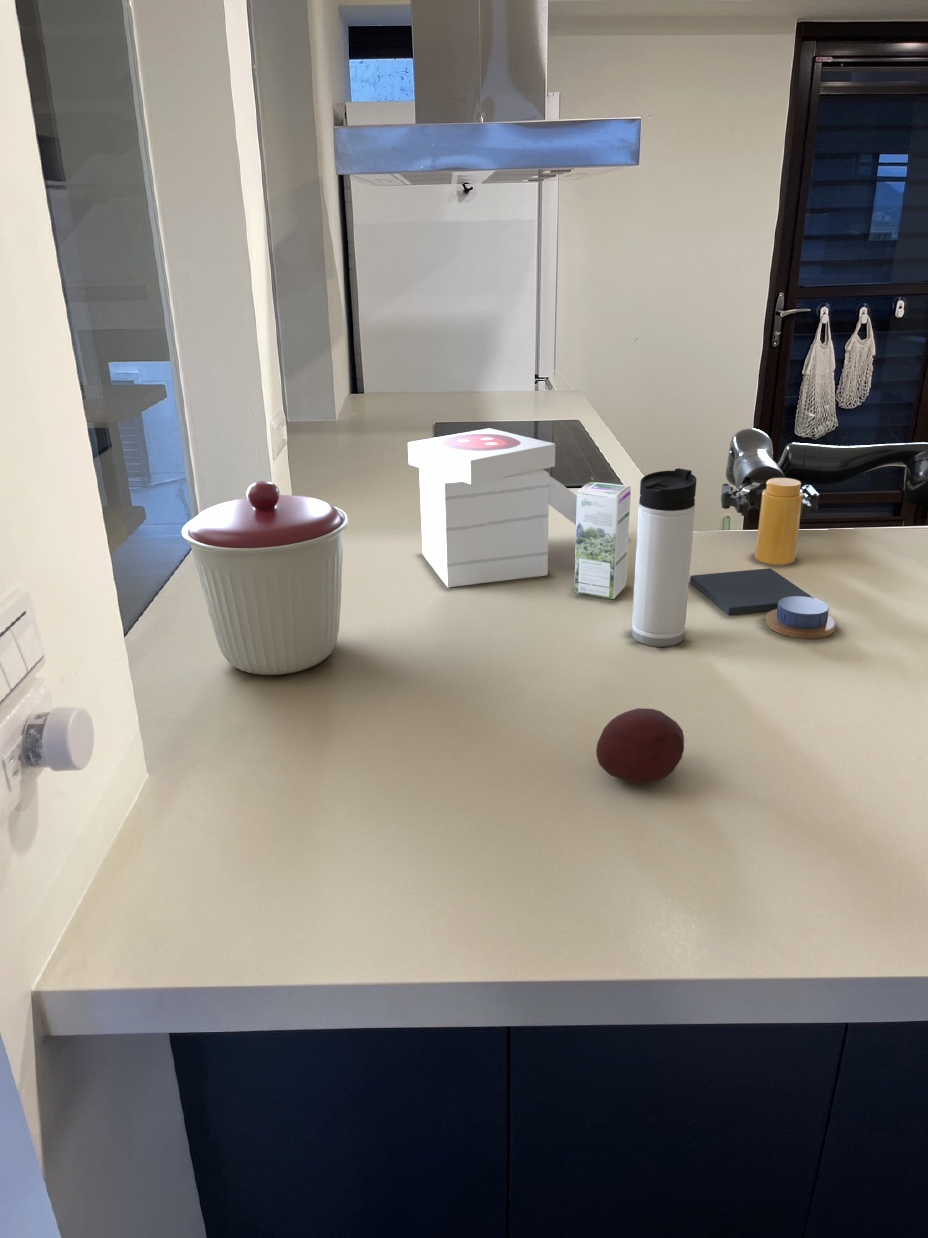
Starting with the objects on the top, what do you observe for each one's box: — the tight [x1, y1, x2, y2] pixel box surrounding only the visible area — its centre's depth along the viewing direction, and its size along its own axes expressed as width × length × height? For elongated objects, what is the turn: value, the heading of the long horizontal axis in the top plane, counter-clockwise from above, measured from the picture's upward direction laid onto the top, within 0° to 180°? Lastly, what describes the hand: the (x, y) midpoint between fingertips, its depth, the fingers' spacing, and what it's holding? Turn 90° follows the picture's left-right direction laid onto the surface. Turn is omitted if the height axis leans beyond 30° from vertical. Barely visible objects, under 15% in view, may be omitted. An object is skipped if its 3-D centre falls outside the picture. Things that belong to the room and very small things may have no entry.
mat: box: [689, 567, 816, 616], centre depth 121 cm, size 12×12×1 cm
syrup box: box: [574, 481, 632, 600], centre depth 121 cm, size 6×6×14 cm
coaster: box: [765, 608, 836, 640], centre depth 112 cm, size 8×8×1 cm
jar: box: [754, 478, 803, 566], centre depth 132 cm, size 6×6×12 cm
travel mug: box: [631, 467, 697, 648], centre depth 106 cm, size 6×7×20 cm
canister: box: [181, 480, 350, 676], centre depth 103 cm, size 18×18×21 cm
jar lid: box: [777, 596, 830, 629], centre depth 111 cm, size 6×6×2 cm
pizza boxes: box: [407, 427, 633, 588], centre depth 132 cm, size 19×30×18 cm, turn 106°
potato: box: [595, 707, 685, 785], centre depth 81 cm, size 7×8×6 cm
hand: (775, 510), depth 135 cm, fingers open, 8 cm apart
